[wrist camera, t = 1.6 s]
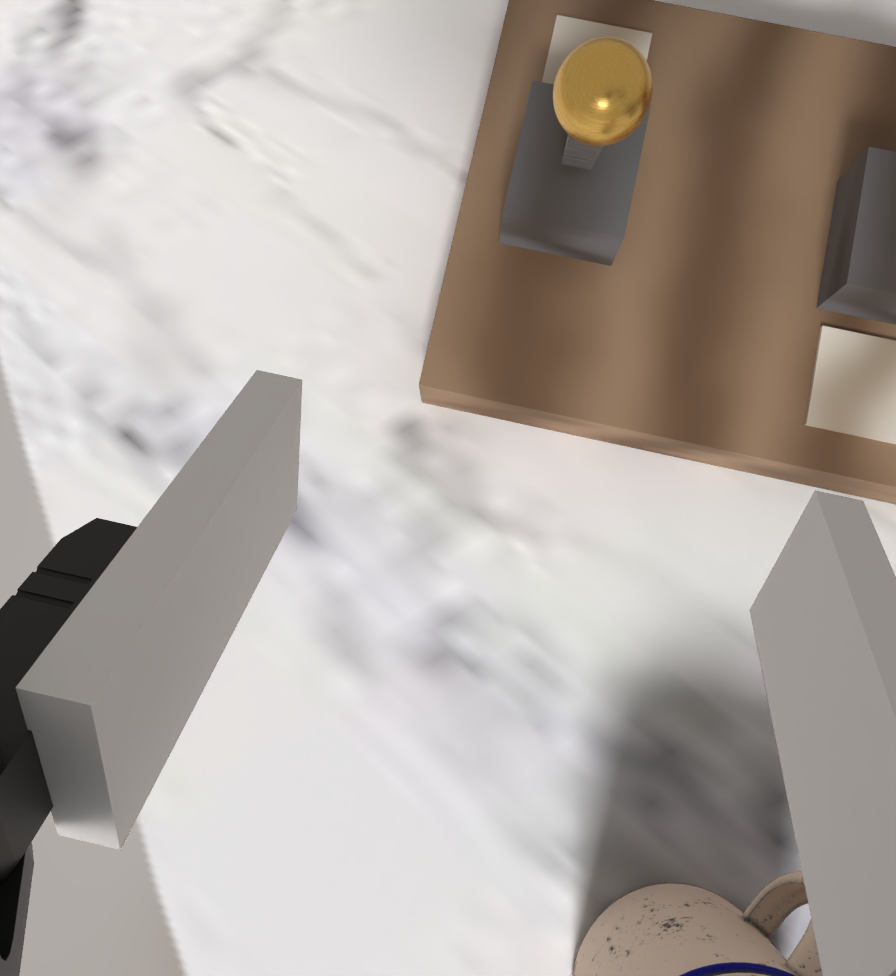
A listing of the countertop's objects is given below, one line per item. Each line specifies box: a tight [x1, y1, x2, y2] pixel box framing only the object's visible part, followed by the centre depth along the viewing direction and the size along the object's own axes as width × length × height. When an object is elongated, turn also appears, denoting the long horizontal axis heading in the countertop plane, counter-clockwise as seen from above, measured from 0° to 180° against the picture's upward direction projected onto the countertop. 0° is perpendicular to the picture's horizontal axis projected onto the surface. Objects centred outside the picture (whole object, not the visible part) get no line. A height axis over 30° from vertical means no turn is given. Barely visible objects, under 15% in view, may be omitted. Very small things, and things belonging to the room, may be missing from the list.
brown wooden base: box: [419, 0, 896, 504], centre depth 35 cm, size 23×20×6 cm
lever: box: [553, 36, 653, 170], centre depth 26 cm, size 3×3×11 cm
